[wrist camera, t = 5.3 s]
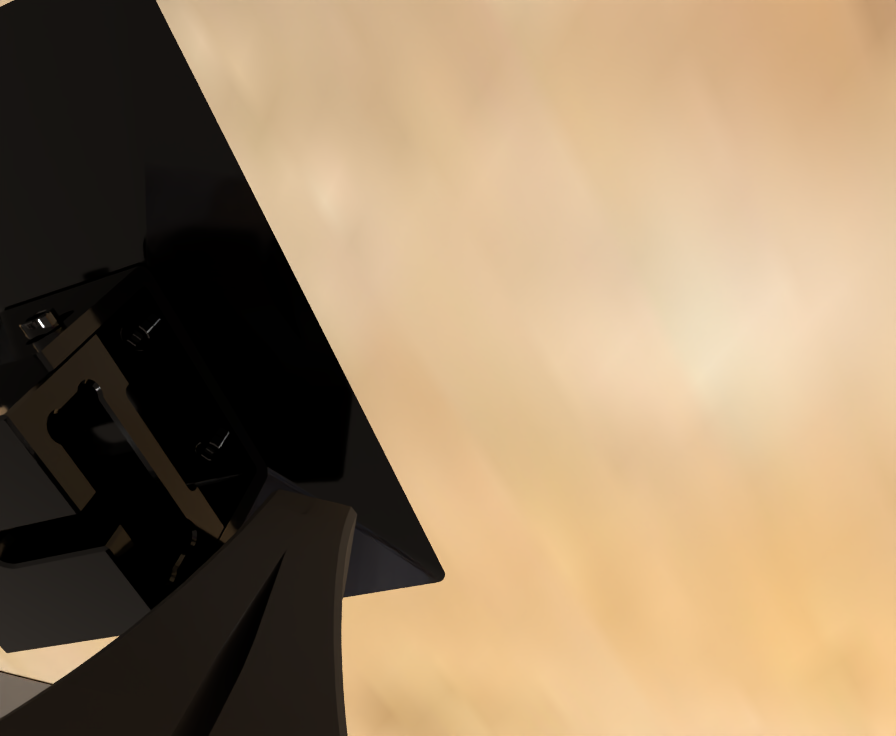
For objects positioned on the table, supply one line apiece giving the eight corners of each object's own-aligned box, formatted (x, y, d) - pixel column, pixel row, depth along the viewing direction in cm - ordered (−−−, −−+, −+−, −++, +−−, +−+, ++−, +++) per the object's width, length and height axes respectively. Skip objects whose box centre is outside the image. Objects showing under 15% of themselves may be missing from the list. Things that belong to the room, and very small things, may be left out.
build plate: (472, 575, 16) (434, 809, 12) (173, 622, 18) (60, 831, 14) (138, -103, 10) (-146, -79, 6) (-239, 91, 12) (-621, 198, 8)
